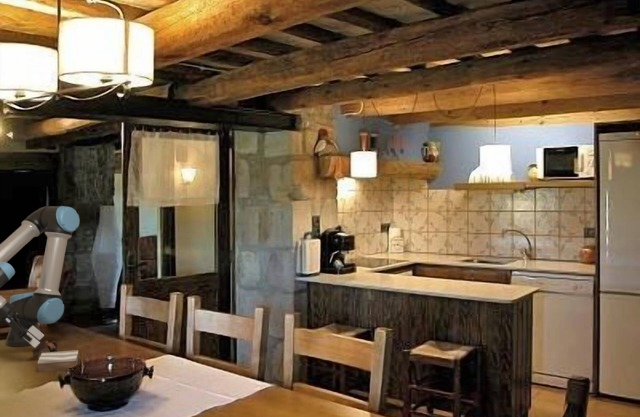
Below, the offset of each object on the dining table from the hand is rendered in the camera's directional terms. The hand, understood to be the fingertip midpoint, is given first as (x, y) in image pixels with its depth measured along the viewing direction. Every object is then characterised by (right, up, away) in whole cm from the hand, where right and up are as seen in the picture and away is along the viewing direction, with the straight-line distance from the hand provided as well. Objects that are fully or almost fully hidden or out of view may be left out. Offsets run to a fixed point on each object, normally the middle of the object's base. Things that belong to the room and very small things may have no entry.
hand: (39, 341), depth 258 cm
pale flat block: (+13, -7, -11) cm, 19 cm away
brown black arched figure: (+3, -7, +1) cm, 8 cm away
